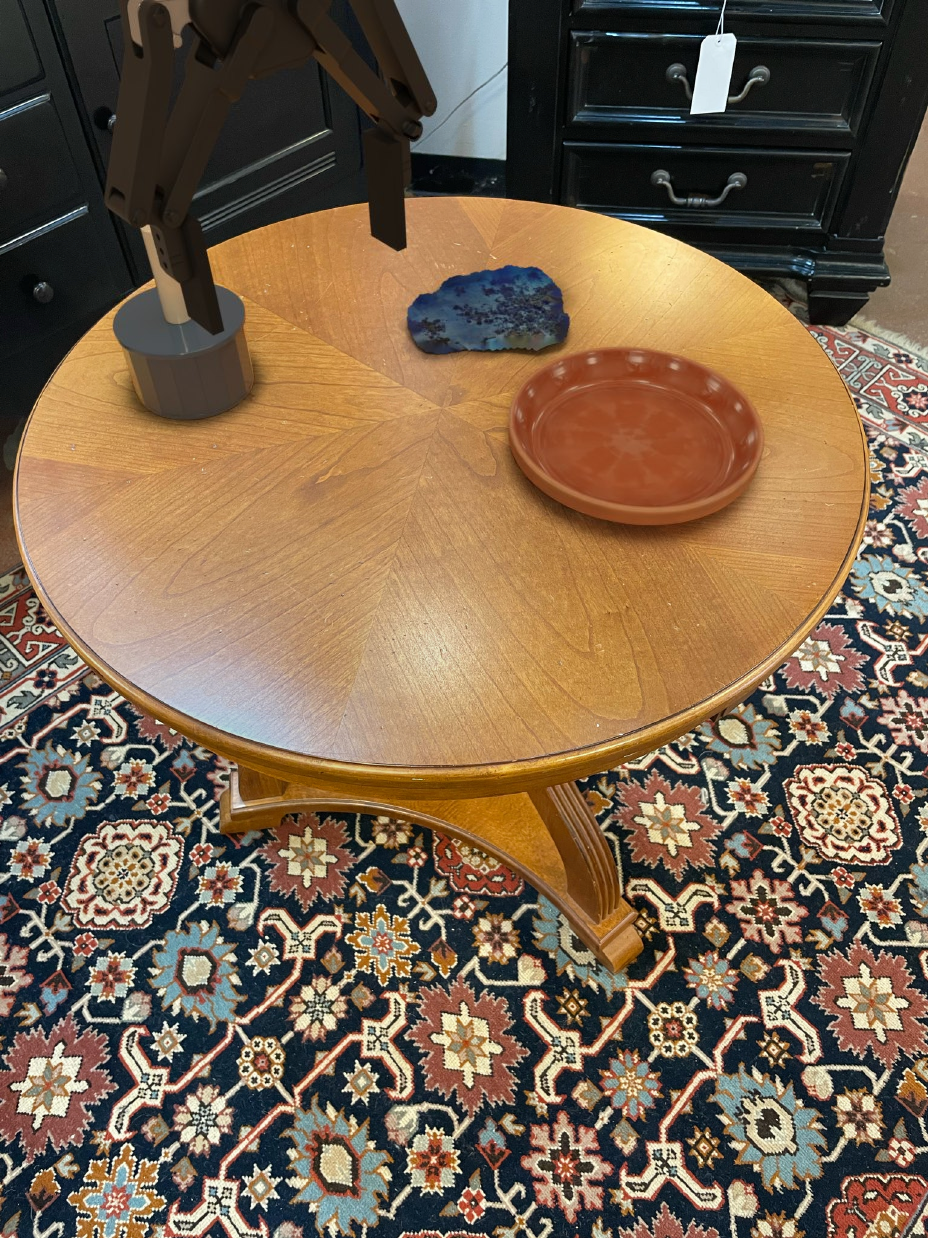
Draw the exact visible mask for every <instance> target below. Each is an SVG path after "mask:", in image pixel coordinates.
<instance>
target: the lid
mask: <svg viewBox="0 0 928 1238" xmlns="http://www.w3.org/2000/svg"><path fill="white" fill-rule="evenodd" d="M139 229H140V232H141V236H142V239H143V243H144V246H145V247H144V248H145V250H146V255H147V257H148V261H149V265H150V268H151V273H152V276H153V279H154V283H155V287H151V288H148V289H146V290H143V291H142V292H139V293H138V294H136V295H134V296H132V297H131V298H130V299H128V300H127V301H125V303H124V304H123V303H122V305H121V306H120V308H119V309H118V310H117V311H116V313H115V314H114V317H113V320H112V331H113V334H114V338H115V339H116V341H117V342H118V344H119V345H120V347H121V346H122V347H123V348H124V349H126V350H127V351H129V352H131V353H133V354H135V355H137V356H140V357H144V358H148V359H154V360H182V359H189V358H194V357H198V356H202V355H205V354H208V353H210V352H213V351H215V350H217V349H219V348H221V347H223V346H225V345H226V344H228V343H229V342H230V341H232V340H233V339H234V338H235V337H236V336H237V335H238V334H239V333H240V331H241V330H242V329H243V326H244V327H245V324H246V321H247V312H246V308H245V303H244V302H243V300H242V299H241V297H239V296H238V295H237V294H236V293H235V292H234V291H232V290H230V289H228V288H227V287H225V286H221V285H218V284H215V283H214V285H215V290H216V294H217V299H218V303H219V308H220V312H221V317H222V321H223V326H224V330H225V331H223V332H221V333H219V334H216V335H214V336H213V335H212V334H210V333H209V332H208V331H207V330H205V329H204V328H203V327H201V326H200V325H199V324H198V323H196V322H195V321H194V320H193V319H191V318H190V317H189V316H188V314H187V310H186V306H185V302H184V298H183V294H182V290H181V286H180V283H178V282H177V281H175V280H174V279H173V278H171V277H170V276H169V275H167V274H166V273H165V272H164V270H163V269H162V268H161V266H160V263H159V259H158V255H157V252H156V248H155V244H154V241H153V237H152V233H151V229H150V225H146V226H145V227H143V228H139ZM122 347H121V348H122Z"/></svg>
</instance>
